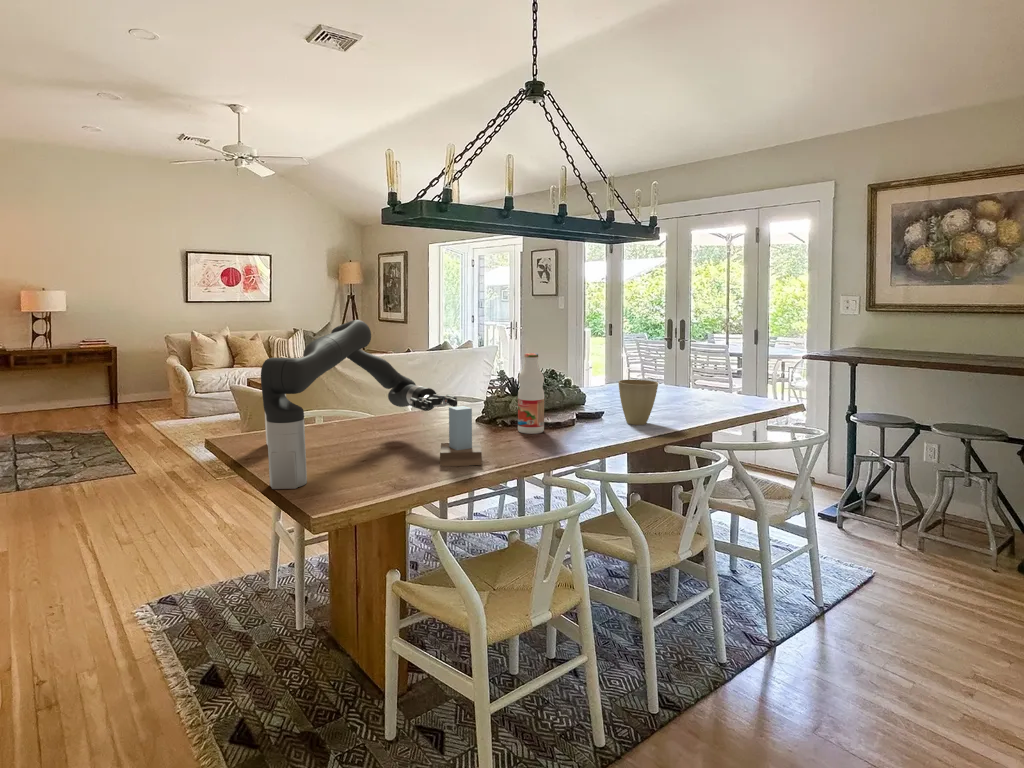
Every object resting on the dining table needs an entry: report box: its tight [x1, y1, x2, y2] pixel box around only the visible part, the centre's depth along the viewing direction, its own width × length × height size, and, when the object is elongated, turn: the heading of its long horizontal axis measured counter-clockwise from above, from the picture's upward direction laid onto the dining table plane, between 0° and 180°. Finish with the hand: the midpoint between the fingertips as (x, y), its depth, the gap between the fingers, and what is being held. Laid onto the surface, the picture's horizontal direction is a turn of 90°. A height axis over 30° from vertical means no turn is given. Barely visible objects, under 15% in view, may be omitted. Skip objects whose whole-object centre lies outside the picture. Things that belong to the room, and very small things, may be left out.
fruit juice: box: [517, 352, 545, 435], centre depth 236 cm, size 9×9×28 cm
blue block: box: [448, 405, 473, 450], centre depth 196 cm, size 5×5×12 cm
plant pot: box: [618, 379, 659, 426], centre depth 252 cm, size 15×15×16 cm
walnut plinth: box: [439, 442, 483, 467], centre depth 197 cm, size 12×12×4 cm
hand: (443, 404), depth 204 cm, fingers open, 8 cm apart
